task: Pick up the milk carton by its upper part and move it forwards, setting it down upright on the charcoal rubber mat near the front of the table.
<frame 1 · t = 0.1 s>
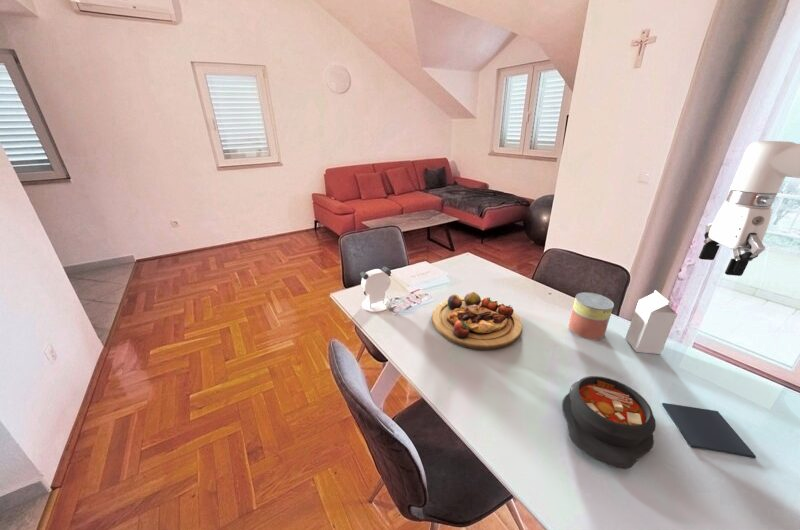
hand: (718, 266, 79), 33 cm above the table, tool pointing down, fingers open, 9 cm apart
casserole: (602, 425, 75), on the table
wooden plate: (475, 323, 114), on the table
milk carton: (641, 346, 102), on the table
canned food: (585, 330, 110), on the table
panda figurine: (376, 304, 126), on the table
mat: (704, 428, 74), on the table
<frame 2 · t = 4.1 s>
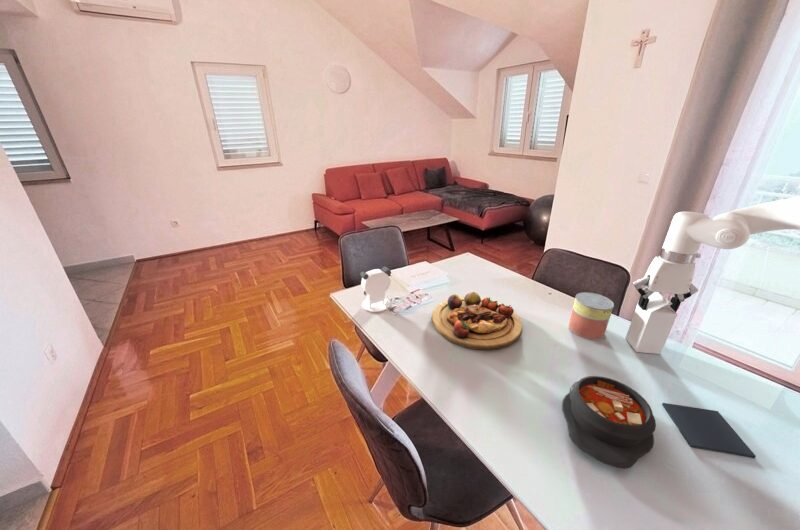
hand: (656, 308, 96), 14 cm above the table, tool pointing down, fingers closed on milk carton, 7 cm apart
milk carton: (641, 346, 102), on the table, touching gripper
everything else where it was.
when the fingers open (15 cm above the table, at t = 11.9 s): milk carton stays where it is, resting on mat.
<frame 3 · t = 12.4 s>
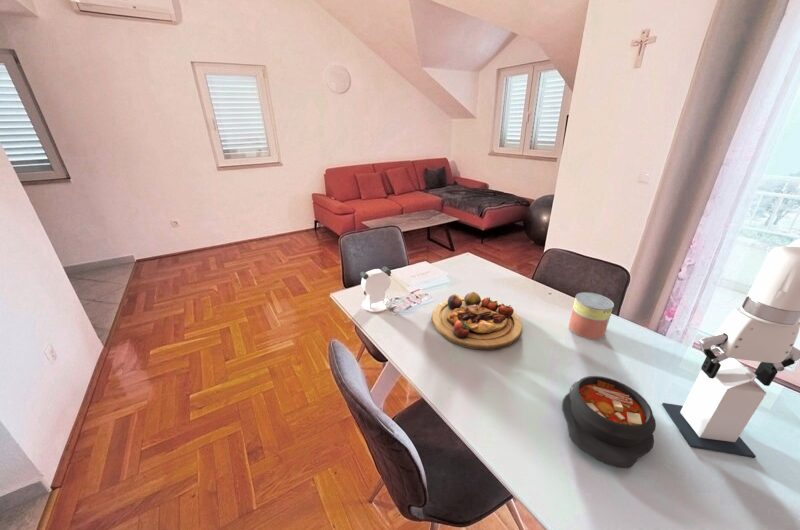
hand: (733, 377, 67), 16 cm above the table, tool pointing down, fingers open, 9 cm apart
milk carton: (705, 427, 74), resting on mat
everything else where it was.
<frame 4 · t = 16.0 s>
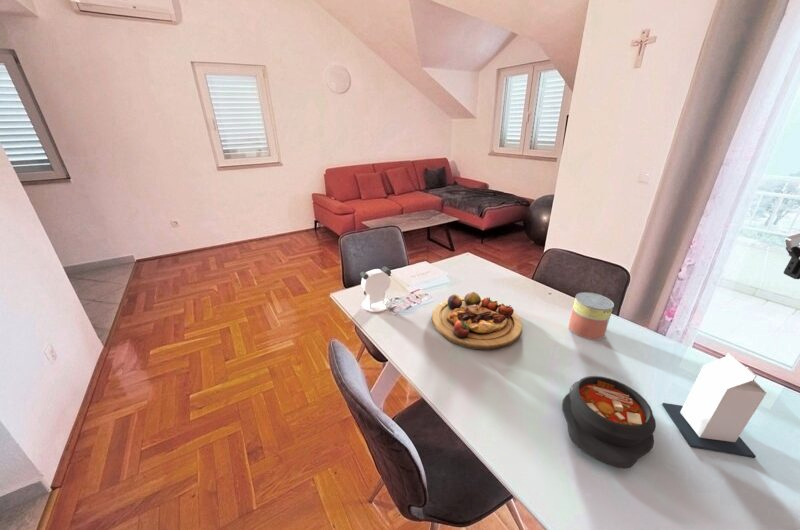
nothing on the table moved.
at the end: milk carton inside the target area on the mat (0.1 cm from its centre), point 0.4 cm above the mat's base; milk carton tilted 0°; milk carton moved 31.0 cm from its start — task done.
